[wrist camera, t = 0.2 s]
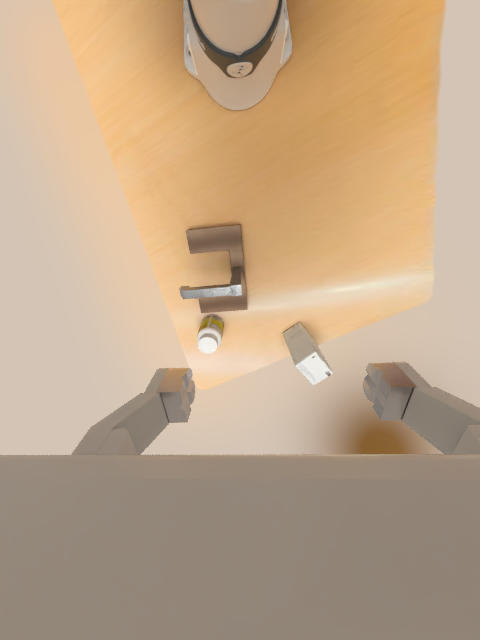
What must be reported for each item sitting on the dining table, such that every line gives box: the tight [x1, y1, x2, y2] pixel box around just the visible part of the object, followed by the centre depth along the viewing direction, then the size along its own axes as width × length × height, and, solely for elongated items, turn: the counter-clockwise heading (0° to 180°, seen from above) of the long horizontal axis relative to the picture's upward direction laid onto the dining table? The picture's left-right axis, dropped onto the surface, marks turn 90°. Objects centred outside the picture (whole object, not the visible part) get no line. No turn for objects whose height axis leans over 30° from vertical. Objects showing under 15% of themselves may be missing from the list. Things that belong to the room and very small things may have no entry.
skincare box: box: [283, 322, 333, 385], centre depth 58 cm, size 8×6×15 cm
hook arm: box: [179, 267, 242, 299], centre depth 49 cm, size 2×12×17 cm, turn 96°
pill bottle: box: [197, 315, 224, 354], centre depth 59 cm, size 6×6×11 cm
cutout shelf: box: [186, 224, 247, 313], centre depth 55 cm, size 20×12×3 cm, turn 5°
